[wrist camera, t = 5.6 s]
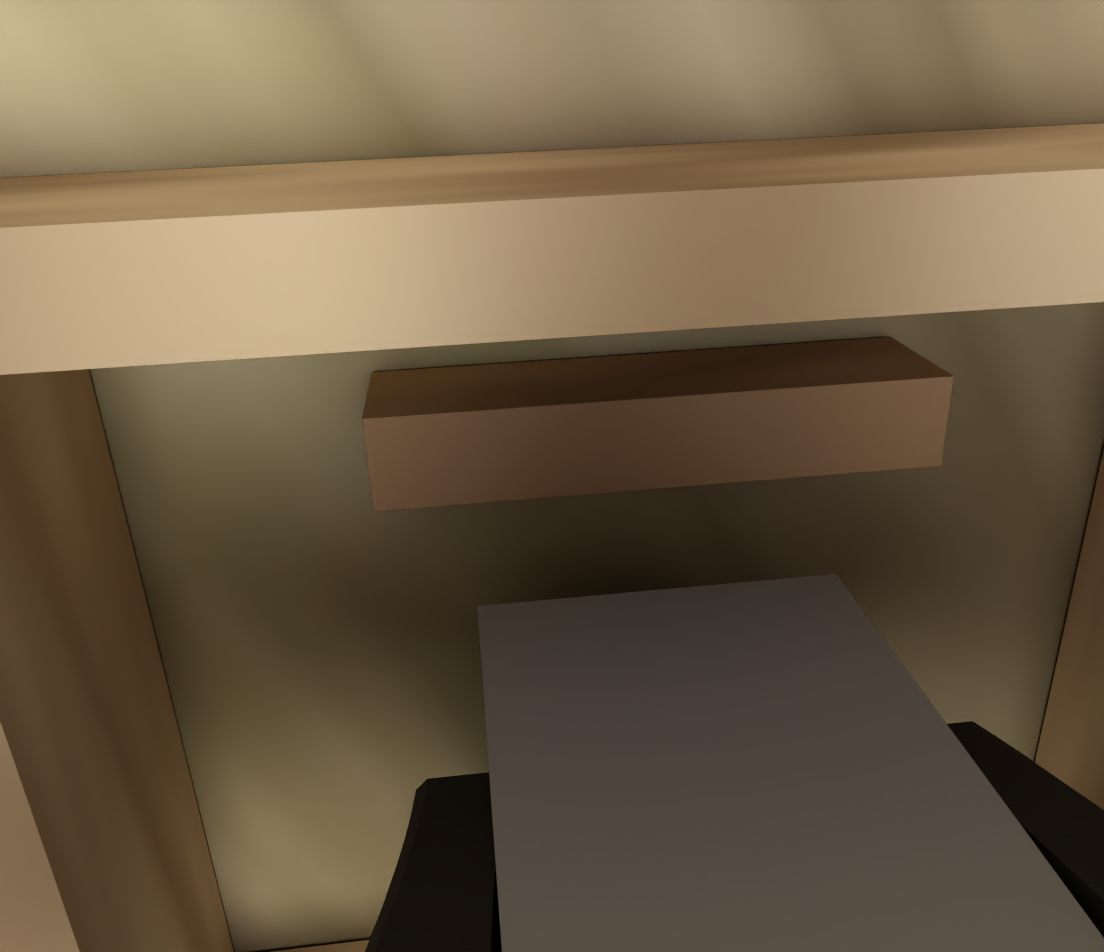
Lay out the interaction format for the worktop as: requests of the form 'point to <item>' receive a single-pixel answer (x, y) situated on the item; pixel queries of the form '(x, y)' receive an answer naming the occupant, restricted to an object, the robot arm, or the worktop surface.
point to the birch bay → (472, 404)
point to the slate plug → (742, 785)
